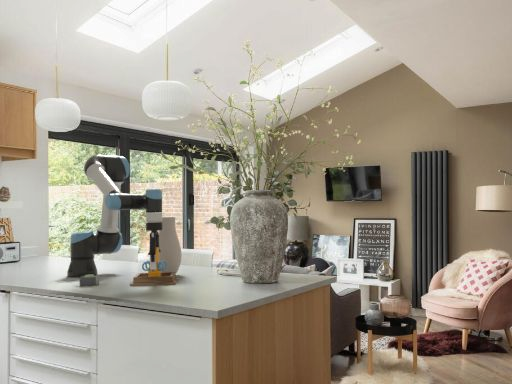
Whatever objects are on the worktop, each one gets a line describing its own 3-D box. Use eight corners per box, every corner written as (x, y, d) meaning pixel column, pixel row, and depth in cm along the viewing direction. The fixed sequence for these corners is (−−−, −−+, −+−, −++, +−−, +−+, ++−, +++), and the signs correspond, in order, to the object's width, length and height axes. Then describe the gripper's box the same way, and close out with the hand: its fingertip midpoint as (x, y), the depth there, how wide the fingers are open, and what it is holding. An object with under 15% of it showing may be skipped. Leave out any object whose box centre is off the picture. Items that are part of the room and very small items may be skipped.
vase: (176, 277, 255) (175, 217, 256) (150, 277, 257) (149, 217, 258) (185, 273, 268) (184, 216, 269) (160, 273, 270) (159, 217, 272)
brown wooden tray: (136, 280, 246) (136, 273, 246) (178, 278, 248) (177, 271, 248) (129, 285, 227) (129, 278, 227) (175, 284, 229) (175, 276, 229)
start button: (86, 281, 234) (86, 274, 234) (95, 280, 234) (95, 274, 234) (83, 282, 230) (83, 275, 230) (93, 282, 230) (93, 275, 230)
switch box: (83, 284, 235) (83, 275, 235) (99, 283, 236) (99, 275, 236) (79, 286, 228) (79, 277, 228) (95, 286, 229) (95, 277, 229)
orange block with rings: (163, 281, 231) (163, 248, 232) (140, 281, 231) (140, 248, 232) (168, 277, 243) (168, 246, 244) (146, 278, 243) (146, 246, 244)
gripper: (149, 221, 250) (149, 265, 250) (142, 222, 226) (143, 270, 225) (164, 221, 251) (165, 264, 250) (159, 222, 226) (160, 270, 225)
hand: (154, 267), depth 238 cm, fingers open, 13 cm apart
